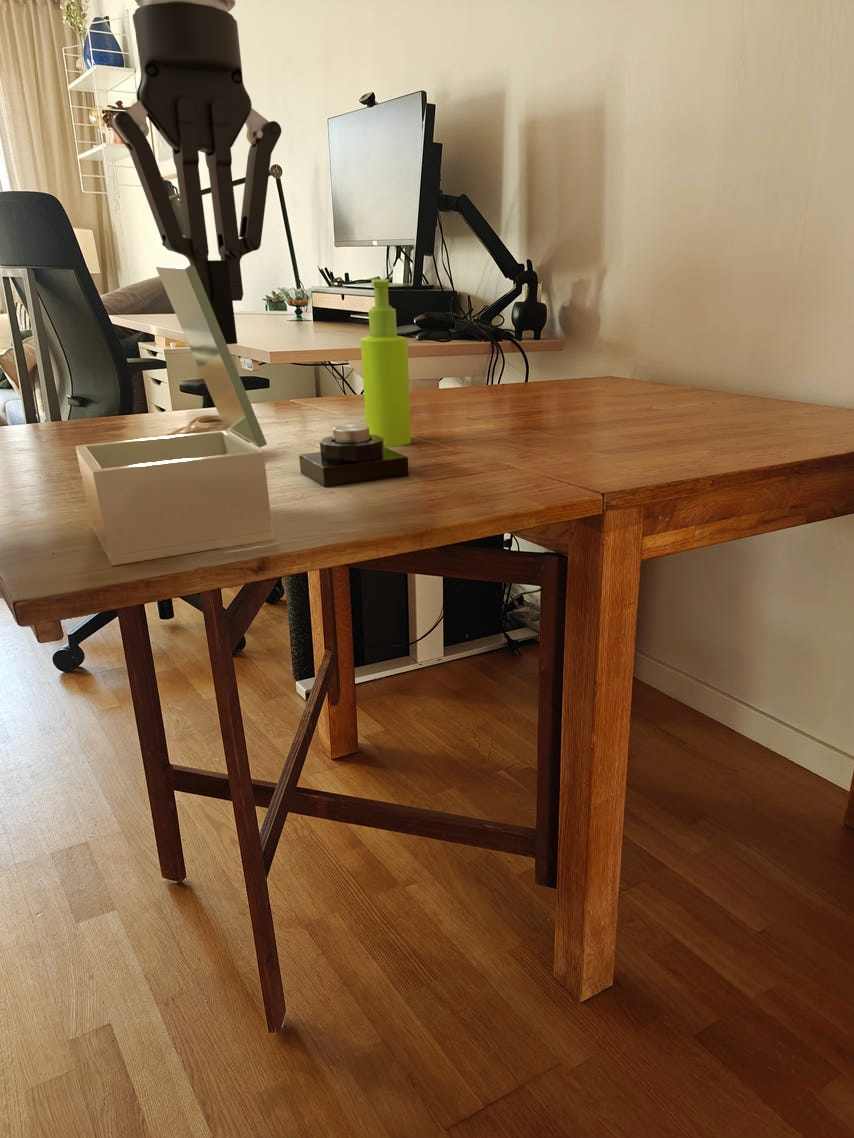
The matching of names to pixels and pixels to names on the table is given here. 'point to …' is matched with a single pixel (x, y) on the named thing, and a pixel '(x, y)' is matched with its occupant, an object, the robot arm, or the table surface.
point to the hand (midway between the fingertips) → (224, 342)
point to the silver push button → (351, 434)
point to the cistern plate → (352, 463)
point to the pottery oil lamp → (203, 426)
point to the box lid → (210, 351)
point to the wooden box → (175, 495)
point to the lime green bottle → (386, 373)
